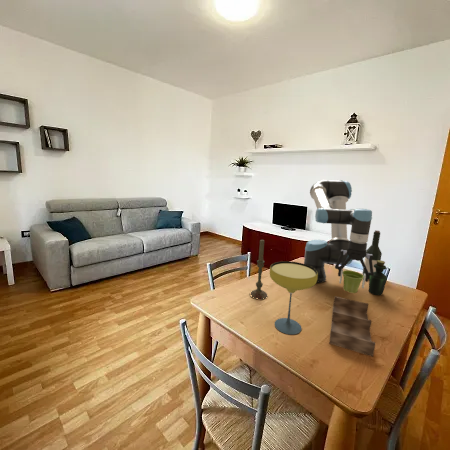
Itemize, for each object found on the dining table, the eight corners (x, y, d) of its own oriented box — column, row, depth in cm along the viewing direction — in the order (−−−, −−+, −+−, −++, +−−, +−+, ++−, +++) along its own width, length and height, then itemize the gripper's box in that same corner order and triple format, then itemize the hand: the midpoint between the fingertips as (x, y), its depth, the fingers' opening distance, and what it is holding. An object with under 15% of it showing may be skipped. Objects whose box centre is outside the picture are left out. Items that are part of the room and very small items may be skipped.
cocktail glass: (304, 347, 87) (311, 283, 82) (258, 329, 96) (262, 271, 91) (315, 322, 102) (322, 267, 97) (274, 309, 111) (279, 258, 106)
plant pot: (356, 286, 124) (358, 271, 122) (364, 295, 115) (367, 279, 113) (337, 285, 125) (339, 269, 123) (344, 294, 116) (346, 277, 114)
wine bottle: (359, 274, 156) (366, 229, 149) (371, 274, 156) (379, 229, 150) (367, 279, 147) (375, 232, 141) (380, 279, 148) (389, 232, 142)
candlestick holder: (247, 297, 121) (250, 239, 115) (252, 289, 130) (255, 235, 124) (265, 301, 118) (269, 242, 112) (269, 293, 126) (273, 238, 120)
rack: (329, 343, 90) (331, 331, 89) (333, 305, 116) (334, 296, 115) (372, 356, 84) (375, 343, 83) (366, 314, 110) (368, 303, 109)
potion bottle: (385, 292, 131) (391, 261, 128) (382, 297, 126) (388, 265, 122) (368, 287, 137) (373, 257, 133) (365, 292, 131) (370, 261, 127)
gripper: (332, 239, 116) (326, 282, 121) (386, 247, 107) (378, 293, 112) (333, 236, 123) (328, 277, 128) (384, 243, 113) (376, 286, 118)
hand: (351, 284), depth 120 cm, fingers closed on plant pot, 9 cm apart
